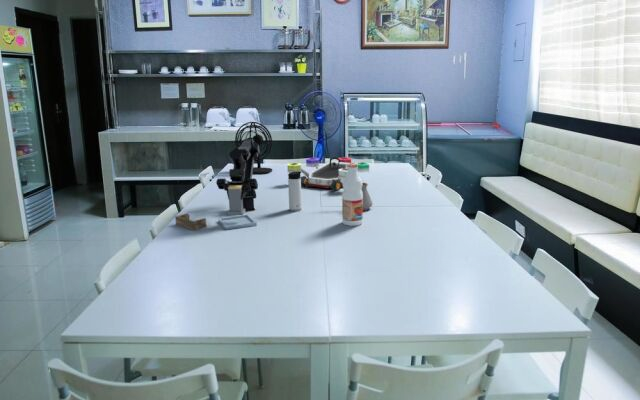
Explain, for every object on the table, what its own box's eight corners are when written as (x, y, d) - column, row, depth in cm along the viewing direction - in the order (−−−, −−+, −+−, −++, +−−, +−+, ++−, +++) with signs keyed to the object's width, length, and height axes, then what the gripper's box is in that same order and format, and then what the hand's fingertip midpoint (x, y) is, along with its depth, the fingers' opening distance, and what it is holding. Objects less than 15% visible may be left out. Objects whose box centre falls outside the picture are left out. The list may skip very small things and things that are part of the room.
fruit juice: (345, 219, 246) (345, 161, 239) (364, 220, 243) (364, 162, 236) (340, 225, 237) (339, 165, 230) (360, 226, 235) (360, 166, 227)
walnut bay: (188, 221, 248) (187, 213, 247) (206, 226, 239) (205, 218, 238) (176, 224, 243) (175, 216, 242) (193, 230, 234) (193, 222, 233)
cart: (379, 180, 325) (379, 155, 321) (349, 194, 293) (349, 166, 289) (318, 174, 348) (318, 150, 344) (285, 185, 316) (284, 160, 312)
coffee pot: (373, 205, 268) (373, 177, 265) (371, 212, 258) (371, 182, 254) (333, 204, 273) (332, 176, 269) (329, 210, 262) (328, 181, 258)
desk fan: (233, 173, 352) (229, 122, 343) (243, 168, 369) (240, 119, 360) (270, 175, 345) (268, 123, 336) (279, 170, 361) (277, 120, 352)
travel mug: (300, 211, 260) (299, 173, 255) (287, 211, 261) (286, 172, 256) (303, 208, 266) (302, 170, 261) (291, 208, 267) (289, 170, 262)
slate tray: (247, 217, 252) (247, 214, 252) (256, 225, 239) (256, 222, 239) (218, 221, 246) (218, 218, 246) (225, 230, 234) (225, 226, 233)
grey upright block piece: (230, 211, 245) (229, 184, 241) (245, 211, 244) (243, 184, 241) (227, 215, 239) (225, 187, 236) (242, 215, 238) (241, 187, 235)
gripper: (215, 161, 240) (211, 190, 232) (255, 161, 238) (251, 190, 231) (221, 174, 249) (216, 202, 242) (259, 174, 248) (256, 202, 240)
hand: (235, 199), depth 238 cm, fingers closed on grey upright block piece, 5 cm apart
